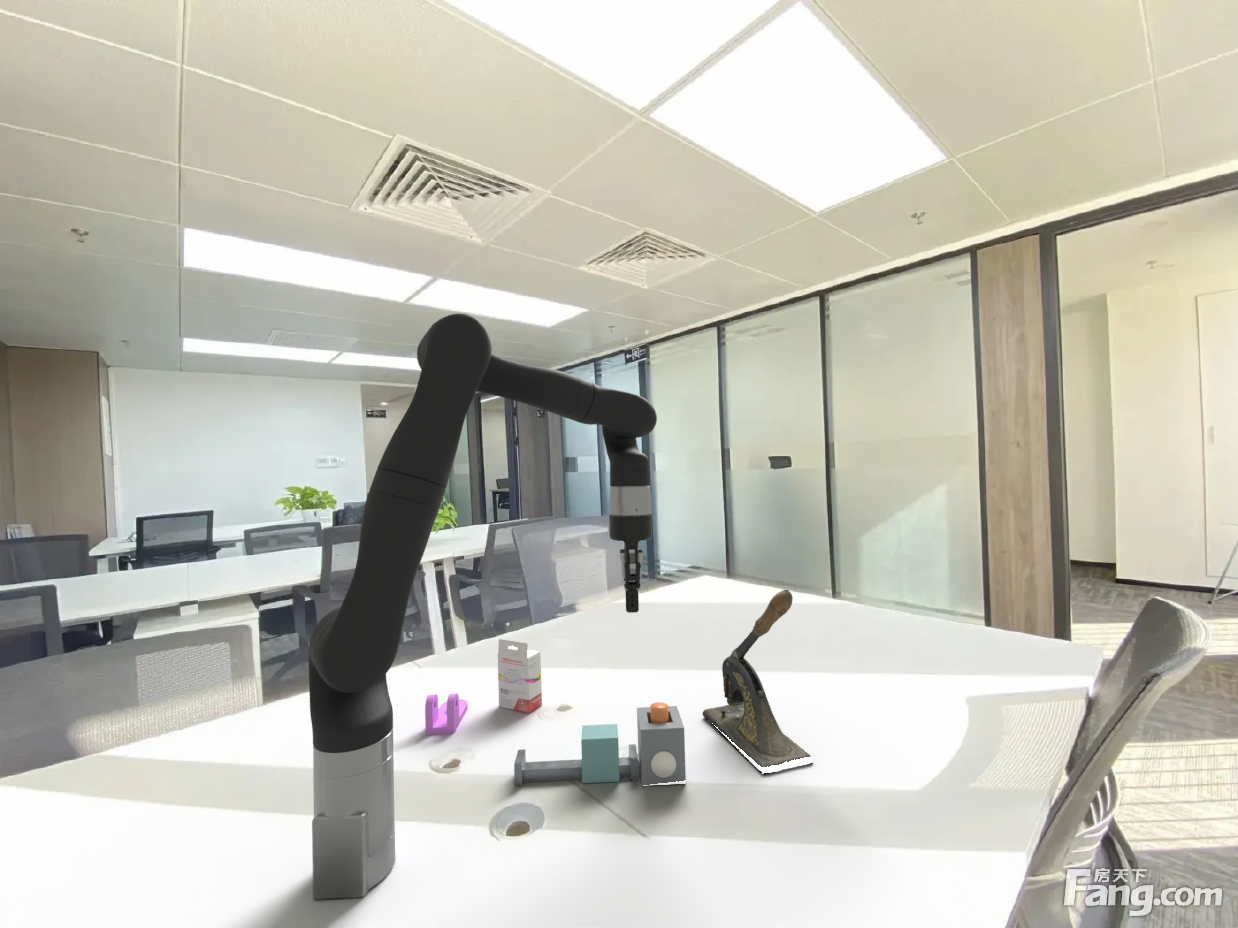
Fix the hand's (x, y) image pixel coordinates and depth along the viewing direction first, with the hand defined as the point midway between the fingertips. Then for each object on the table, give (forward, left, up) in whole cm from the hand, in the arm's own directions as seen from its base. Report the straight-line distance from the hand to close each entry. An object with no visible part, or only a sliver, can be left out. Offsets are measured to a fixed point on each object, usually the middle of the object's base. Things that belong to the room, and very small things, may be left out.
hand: (632, 611), depth 92 cm
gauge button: (-3, -4, -20) cm, 20 cm away
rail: (-3, +10, -26) cm, 28 cm away
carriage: (-3, +6, -26) cm, 27 cm away
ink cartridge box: (+25, +24, -26) cm, 43 cm away
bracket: (+20, +38, -26) cm, 50 cm away
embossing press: (+6, -22, -26) cm, 35 cm away
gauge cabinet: (-3, -4, -26) cm, 26 cm away
